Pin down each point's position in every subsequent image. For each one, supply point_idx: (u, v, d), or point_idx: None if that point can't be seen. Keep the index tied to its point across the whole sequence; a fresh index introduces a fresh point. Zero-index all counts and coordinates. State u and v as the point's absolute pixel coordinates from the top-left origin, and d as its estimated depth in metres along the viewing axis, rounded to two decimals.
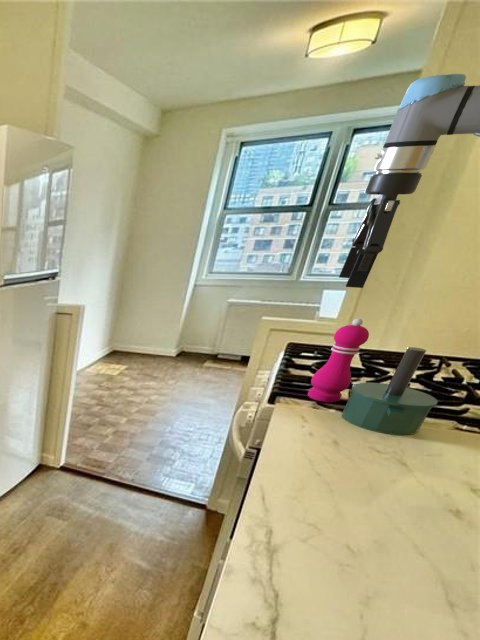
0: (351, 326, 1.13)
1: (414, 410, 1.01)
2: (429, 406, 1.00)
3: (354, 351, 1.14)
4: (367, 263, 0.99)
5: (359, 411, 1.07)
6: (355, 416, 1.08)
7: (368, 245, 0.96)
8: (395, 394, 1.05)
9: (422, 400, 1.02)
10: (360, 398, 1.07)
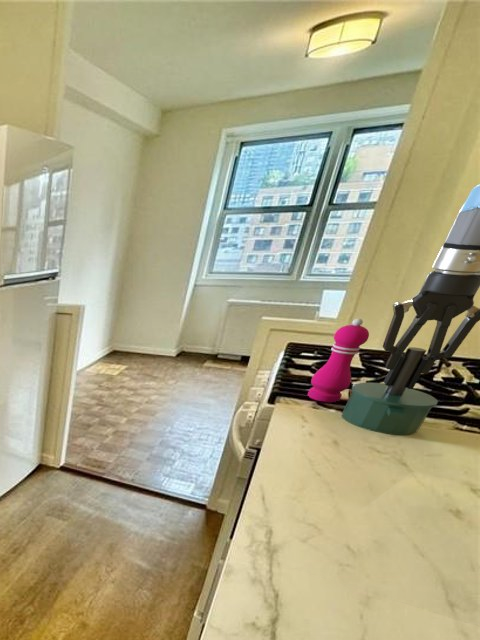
0: (351, 326, 1.13)
1: (414, 410, 1.01)
2: (429, 406, 1.00)
3: (354, 351, 1.14)
4: None
5: (359, 411, 1.07)
6: (355, 416, 1.08)
7: None
8: (395, 394, 1.05)
9: (422, 400, 1.02)
10: (360, 398, 1.07)
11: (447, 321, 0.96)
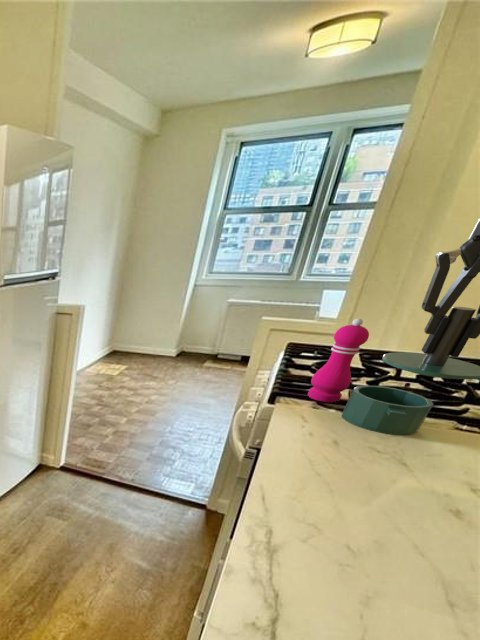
0: (351, 326, 1.13)
1: (414, 410, 1.01)
2: (479, 377, 0.83)
3: (354, 351, 1.14)
4: None
5: (359, 411, 1.07)
6: (355, 416, 1.08)
7: None
8: (436, 364, 0.88)
9: (469, 371, 0.85)
10: (360, 398, 1.07)
11: None
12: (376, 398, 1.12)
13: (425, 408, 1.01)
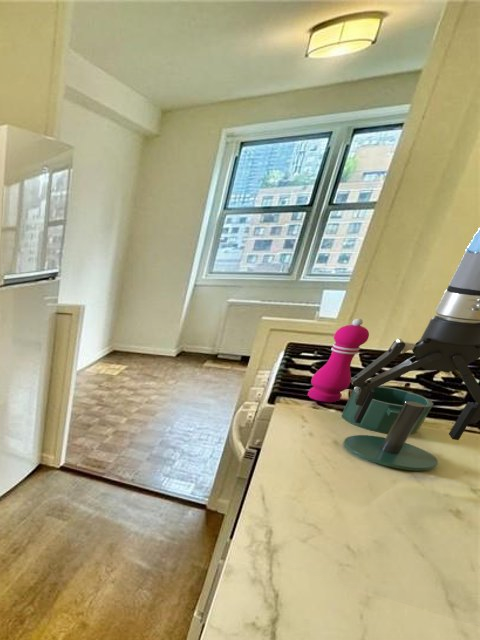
0: (351, 326, 1.13)
1: None
2: (429, 468, 0.90)
3: (354, 351, 1.14)
4: None
5: None
6: None
7: None
8: (391, 452, 0.95)
9: (421, 460, 0.92)
10: None
11: (465, 370, 0.84)
12: (376, 398, 1.12)
13: (425, 408, 1.01)
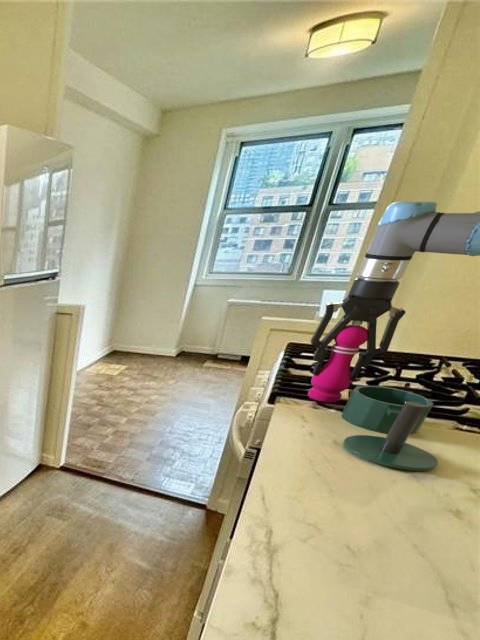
0: (351, 326, 1.13)
1: None
2: (429, 468, 0.90)
3: (354, 351, 1.14)
4: None
5: (359, 411, 1.07)
6: (355, 416, 1.08)
7: (387, 349, 1.11)
8: (391, 452, 0.95)
9: (421, 460, 0.92)
10: (360, 398, 1.07)
11: (373, 321, 1.10)
12: (376, 398, 1.12)
13: (425, 408, 1.01)
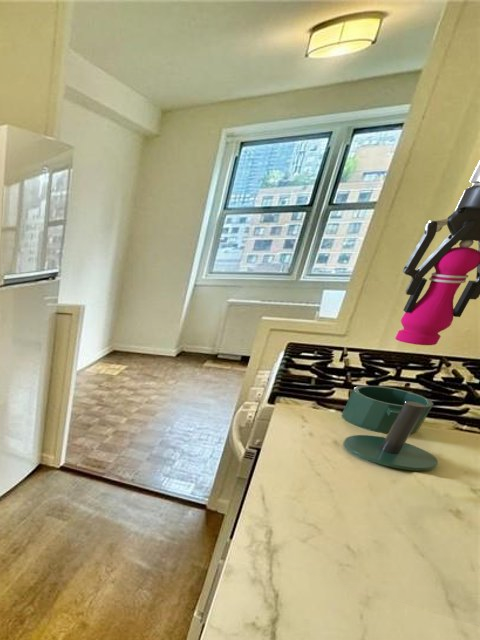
0: (458, 248, 0.93)
1: None
2: (429, 468, 0.90)
3: (461, 279, 0.93)
4: None
5: (359, 411, 1.07)
6: (355, 416, 1.08)
7: None
8: (391, 452, 0.95)
9: (421, 460, 0.92)
10: (360, 398, 1.07)
11: None
12: (376, 398, 1.12)
13: (425, 408, 1.01)
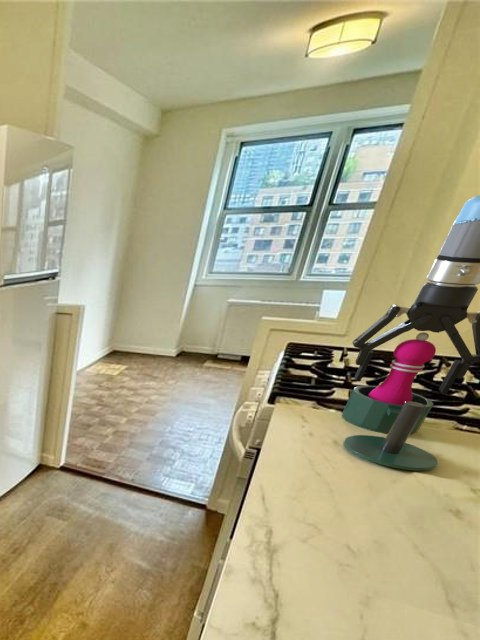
0: (415, 341, 1.01)
1: None
2: (429, 468, 0.90)
3: (418, 369, 1.01)
4: None
5: (359, 411, 1.07)
6: (355, 416, 1.08)
7: None
8: (391, 452, 0.95)
9: (421, 460, 0.92)
10: (360, 398, 1.07)
11: (452, 330, 0.96)
12: None
13: (425, 408, 1.01)
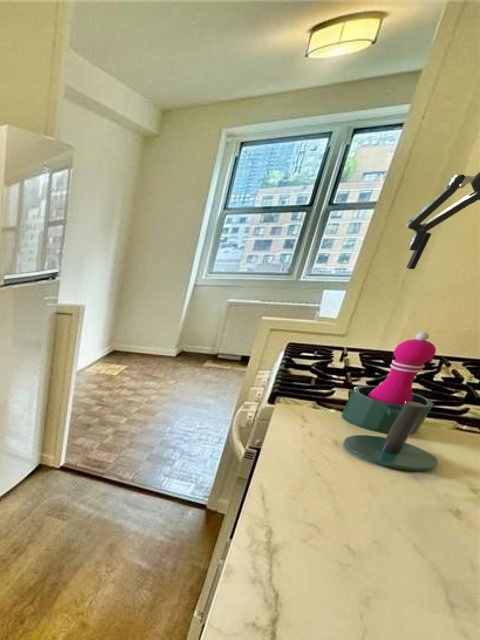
0: (415, 341, 1.01)
1: None
2: (429, 468, 0.90)
3: (418, 369, 1.01)
4: None
5: (359, 411, 1.07)
6: (355, 416, 1.08)
7: None
8: (391, 452, 0.95)
9: (421, 460, 0.92)
10: (360, 398, 1.07)
11: None
12: None
13: (425, 408, 1.01)
